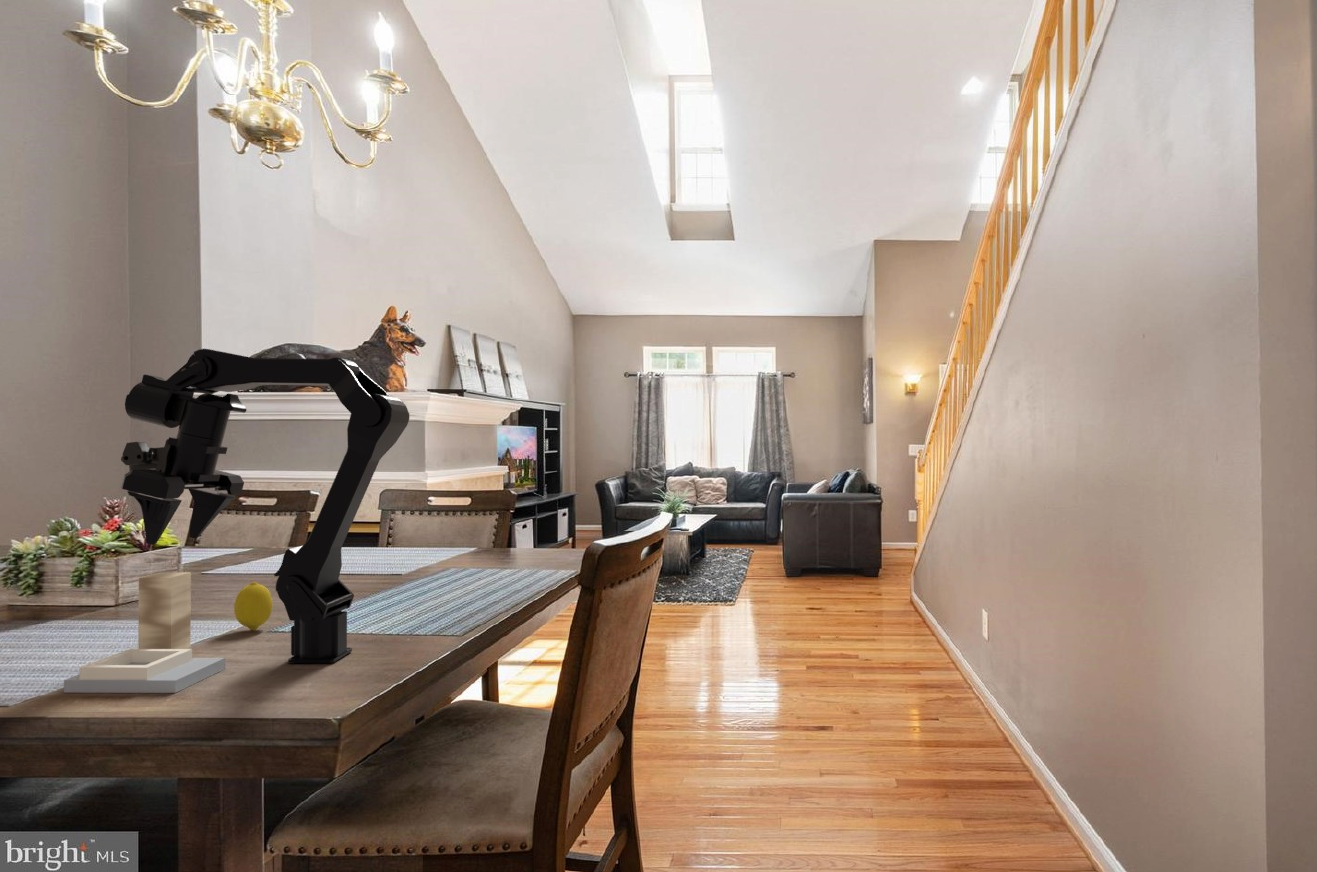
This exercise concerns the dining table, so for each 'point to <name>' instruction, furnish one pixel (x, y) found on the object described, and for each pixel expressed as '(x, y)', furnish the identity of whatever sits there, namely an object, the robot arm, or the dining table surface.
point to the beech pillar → (165, 611)
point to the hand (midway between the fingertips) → (172, 540)
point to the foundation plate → (144, 672)
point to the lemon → (253, 606)
